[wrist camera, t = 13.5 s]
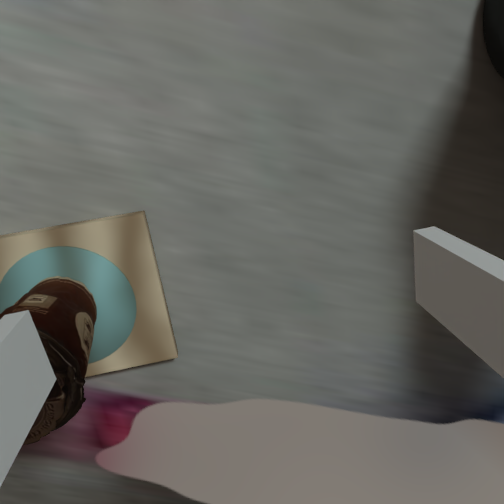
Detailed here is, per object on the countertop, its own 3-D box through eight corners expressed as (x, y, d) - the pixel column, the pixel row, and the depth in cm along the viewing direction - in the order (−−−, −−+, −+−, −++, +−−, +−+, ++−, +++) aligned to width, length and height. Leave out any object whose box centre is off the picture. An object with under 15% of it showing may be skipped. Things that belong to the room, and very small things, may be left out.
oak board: (144, 210, 37) (143, 214, 36) (177, 351, 42) (177, 358, 41) (-54, 244, 35) (-63, 250, 34) (6, 387, 41) (0, 396, 39)
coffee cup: (125, 283, 38) (98, 365, 25) (98, 358, 40) (60, 468, 27) (25, 252, 35) (-57, 326, 23) (1, 333, 37) (-86, 441, 25)
